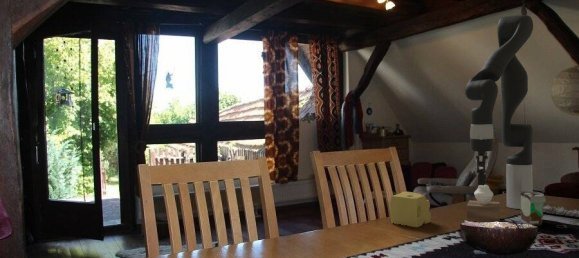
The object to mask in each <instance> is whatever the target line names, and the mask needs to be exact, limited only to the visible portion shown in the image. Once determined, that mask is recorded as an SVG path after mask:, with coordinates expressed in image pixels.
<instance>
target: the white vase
mask: <svg viewBox="0 0 579 258" xmlns="http://www.w3.org/2000/svg"><path fill="white" fill-rule="evenodd" d="M473 194H474V198H475V199H476V201H478V203H479V204H482V205H488V204H489V203H490V202H492V200H493V197H494V193H493V191H492V190H491V189H490V186H489V185H487V184H485V185H484V186H483V185H478V186H477V188H476V190H475V191H474V192H473Z"/></svg>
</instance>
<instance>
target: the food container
mask: <svg viewBox="0 0 579 258" xmlns="http://www.w3.org/2000/svg"><path fill="white" fill-rule="evenodd" d="M546 201H547V199H546V195H544V193H543V192H542V193H541V192H538V191H533V192H532V191H520V205H521V209H520V220H521V221H522V222H524V223H525V224H526V225H528V224H533V225H537V226H541V225H543V219H544V218H543V216H544V215H543V214H544V203H545V202H546ZM537 226H536V227H537Z"/></svg>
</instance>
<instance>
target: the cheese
mask: <svg viewBox="0 0 579 258" xmlns="http://www.w3.org/2000/svg"><path fill="white" fill-rule="evenodd" d="M430 208H431V203H430V200H429V199H427V197H426V196H425V195H423V194H421V193H417V192H416V193H415V192H413V191H412V192H411V191H402V192H400V193H397V194H394V195H391V196H390V222H391V224H393V223H394V224H395V225H399V224H401V225H400V226H406V225H407V227H413V228H419V227H421V226H423V224H424V225H426V224H429V223H431V221H432V212H431V211H430Z"/></svg>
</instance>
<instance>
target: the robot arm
mask: <svg viewBox="0 0 579 258" xmlns="http://www.w3.org/2000/svg"><path fill="white" fill-rule="evenodd" d="M496 30H497V33H496V34H497V42H498V48H497V49H496V50H494V51H493V52H492V53H491V54H490V55H489V56H488V57H487V59H486V60H485V62H484V63H483V65H482V67H481V68H480V70H479V71H477V72H476V73H475V74H474V76H473V77H471V78H470V79H469V80H468V82H467V83H466V85H465V88H464V89H465V90H464V91H465V92H464V93H465V94H464V95H465V97H466V98H467V99H468V100H470V101H481V103H480V105H479V106H477V107H473V108H472V109H471V110H470V128H469V140H470V141H469V143H470V145H469V148H470V151H472V152H476V153H477V155H476V156H475V167H476V174H477V185H478V186H479V185H483V186H484V185H486V182H487V170H488V166H489V156H488V152H493V151H494V149H495V148H494V145H495V144H494V143H495V141H494V137H495V136H494V133H495V132H494V124H493V121H494V120H493V115H494V113H493V112H494V109H495V104H496V100H497V97H498V94H499V88H498V85H497V83H496V82H497V81H499V80H500V90H501V105H502V106H501V107H502V113H501V115H502V116H501V118H502V119H501V121H502V122H501V123H502V124H501V141H502V144H503V146H504V147H507V148H508V147H509V148H523V149H522V150H521V151H519V152H517V153H515V154H512V155H509V156H507V157H506V158H505V161H506V162H505V163H506V165H505V168H506V169H505V170H506V171H505V173H506V178H505V179H506V181H505V182H506V183H505V184H506V187H505V188H506V207H507V208H510V209H515V210H516V209H517V210H521V205H520V191H532V192H534V191H533V184H534V182H533V143H534V142H533V141H534V140H533V139H534V132H533V127H532V124H531V123H512V122H511V121H512V119H513V116H514V114H515V113H516V111H517V109H518V107H520V105H521V103H523V101H524V99H525V97H526V96H527V94H528V91H529V83H528V82H529V78H528V73H527V70H526V68H525V67H524V66H523V64H522V62H520V60H519V59H518V57H517V56H516V55H517V53H518V52H519V51H520V49H521V48H522V47H523V46H524V45H525V44H526V42H527V41H528V40H529V39H530V37H531V36H532V33H533V31H534V21H533V18H532V17H531V16H530V15H527V14H518V15H509V16H502V17H501V18H500V19H499V20H498V22H497V29H496Z"/></svg>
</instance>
